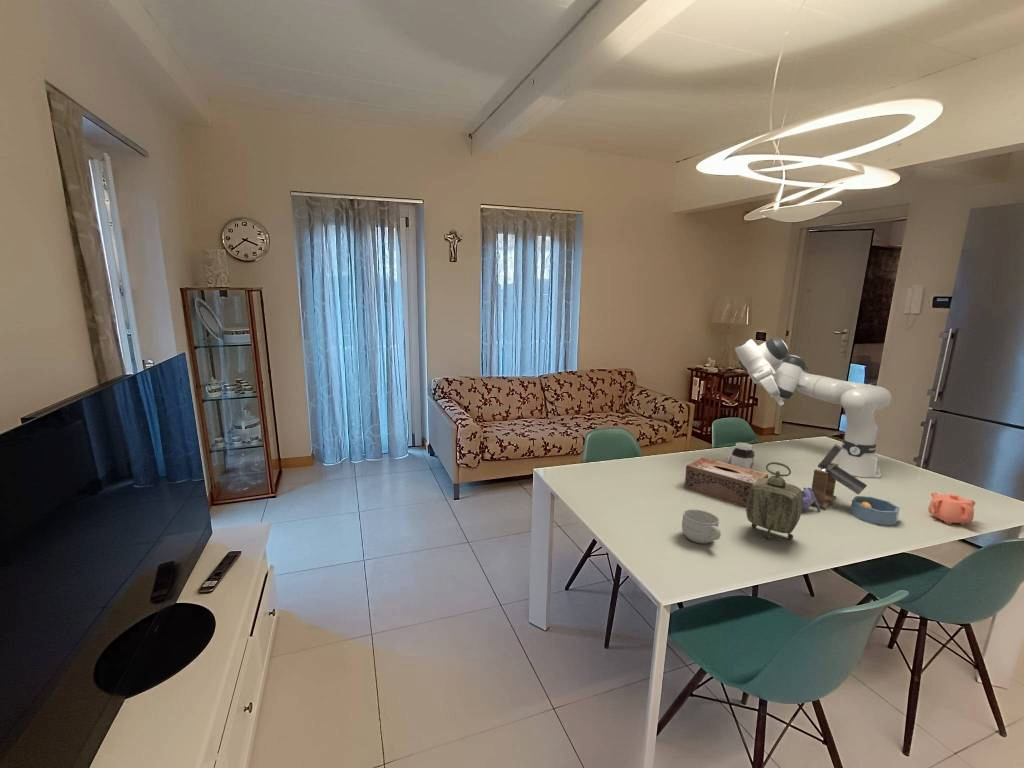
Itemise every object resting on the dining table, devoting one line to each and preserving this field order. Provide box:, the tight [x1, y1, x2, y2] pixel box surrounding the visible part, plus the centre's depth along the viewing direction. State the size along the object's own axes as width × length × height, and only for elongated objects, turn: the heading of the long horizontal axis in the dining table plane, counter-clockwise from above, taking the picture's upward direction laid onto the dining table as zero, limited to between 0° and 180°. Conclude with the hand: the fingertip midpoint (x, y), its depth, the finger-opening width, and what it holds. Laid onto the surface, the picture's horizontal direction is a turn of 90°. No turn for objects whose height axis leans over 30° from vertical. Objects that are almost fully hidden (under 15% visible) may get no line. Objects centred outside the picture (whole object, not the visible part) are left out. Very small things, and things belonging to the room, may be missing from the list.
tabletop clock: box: [745, 461, 803, 540], centre depth 147 cm, size 14×9×25 cm, turn 48°
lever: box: [816, 443, 868, 496], centre depth 168 cm, size 10×15×11 cm, turn 42°
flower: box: [801, 487, 821, 512], centre depth 169 cm, size 9×9×10 cm
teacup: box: [681, 508, 722, 544], centre depth 145 cm, size 14×11×8 cm
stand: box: [809, 462, 838, 511], centre depth 174 cm, size 15×6×14 cm, turn 132°
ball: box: [860, 502, 872, 508], centre depth 165 cm, size 4×4×4 cm
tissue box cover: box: [684, 456, 769, 508], centre depth 182 cm, size 26×14×10 cm, turn 44°
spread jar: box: [727, 442, 755, 470], centre depth 209 cm, size 12×11×12 cm
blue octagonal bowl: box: [850, 495, 901, 527], centre depth 163 cm, size 13×13×5 cm
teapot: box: [927, 492, 976, 526], centre depth 161 cm, size 12×12×10 cm
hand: (782, 405), depth 184 cm, fingers closed
